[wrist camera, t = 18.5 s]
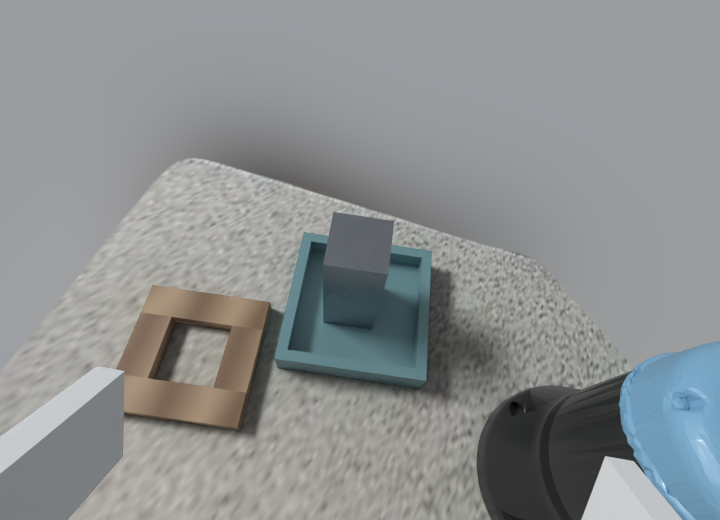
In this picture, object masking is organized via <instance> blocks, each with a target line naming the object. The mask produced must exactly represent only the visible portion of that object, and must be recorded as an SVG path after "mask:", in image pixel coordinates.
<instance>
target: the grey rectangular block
mask: <svg viewBox="0 0 720 520" xmlns="http://www.w3.org/2000/svg"><path fill="white" fill-rule="evenodd" d="M393 225H394V221H389V220H382V219H376V218H369V217H362V216H356V215H349V214H343V213H336V212H334V213H333V218H332V222H331V227H330V232H329V237H328V242H327V247H326V252H325V257H324V262H323V322H324V323H330V324H337V325H344V326H350V327H357V328H364V329H370V330H372V328H373V325H374V321H375V318H376V315H377V311H378V308H379V304H380V301H381V298H382V294H383V291H384V287H385V284H386V281H387V277H388V272H389V263H390V254H391V244H392V235H393Z"/></svg>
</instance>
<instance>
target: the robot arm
mask: <svg viewBox="0 0 720 520" xmlns="http://www.w3.org/2000/svg"><path fill="white" fill-rule="evenodd" d="M124 375H125V371H121V370H115V369H110V368H104V367H98V366H97V367H95V368H94V369H92V370H91V371H90V372H88V373H87V374H86V375H84V376H83V377H81V378H80V379H79V380H77V381H76V382H75V383H73V384H72V385H71V386H69V387H68V388H66V389H65V390H64V391H62V392H61V393H60V394H58V395H57V396H55V397H54V398H53V399H51V400H50V401H49V402H47V403H46V404H44V405H43V406H42V407H40V408H39V409H38V410H36V411H35V412H33V413H32V414H31V415H29V416H28V417H27V418H25V419H24V420H23V421H21V422H20V423H18V424H17V425H16V426H14V427H13V428H12V429H10V430H9V431H7V432H6V433H5V434H3V435H2V436H1V437H0V520H68V519H69V517H70V516H71V515H72V514H73V513H74V512H75V511H76V509H77V508H78V507H79V506H80V505H81V504H82V502H83V501H84V500H85V499H86V498H87V497H88V496H89V494H90V493H91V492H92V491H93V490H94V489H95V488H96V486H97V485H98V484H99V483H100V482H101V481H102V480H103V478H104V477H105V476H106V475H107V474H108V473H109V471H110V470H111V469H112V468H113V467H114V466H115V465H116V463H117V462H118V461H119V460H120V459H121V458H122V457H123V428H124ZM477 473H478V481H479V486H480V490H481V494H482V497H483V500H484V503H485V506H486V508H487V511H488V513H489V515H490V517H491V519H492V520H720V341H719V342H713V343H708V344H704V345H700V346H697V347H694V348H691V349H688V350H684V351H681V352H675V353H674V352H672V353H665V354H662V355H658V356H655V357H652V358H650V359H648V360H646V361H644V362H642V363H641V364H639V365H637V366H636V367H635V369H634V370H633V371H630V372H628V373H625V374H622V375H620V376H617V377H614V378H612V379H609V380H606V381H604V382H601V383H598V384H596V385H593V386H590V387H588V388H585V389H583V390H580V389H574V388H568V387H562V386H540V387H534V388H530V389H527V390H524V391H522V392H520V393H518V394H516V395H514V396H512V397H510V398H508V399H507V400H505V401H504V402H503V403H501V404H500V405H499V406H498V407H497V408H496V409H495V410H494V411H493V413H492V414H491V415H490V417H489V418H488V420H487V422H486V424H485V426H484V428H483V430H482V433H481V436H480V440H479V444H478V451H477Z"/></svg>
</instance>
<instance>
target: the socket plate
mask: <svg viewBox="0 0 720 520" xmlns="http://www.w3.org/2000/svg"><path fill="white" fill-rule="evenodd" d="M270 312H271V305H270V302H265V301H258V300H251V299H244V298H237V297H231V296H224V295H217V294H210V293H203V292H196V291H190V290H183V289H176V288H169V287H162V286H156V285H153V286H152V288H151V290H150V293H149V295H148V297H147V300H146V302H145V304H144V307H143V309H142V311H141V313H140V316H139V318H138V320H137V323H136V325H135V327H134V330H133V332H132V334H131V337H130V339H129V341H128V344H127V346H126V348H125V351H124V353H123V355H122V358H121V360H120V362H119V365H118V367H117V369H116V370H121V371H125V375H124V413H125V414H132V415H139V416H145V417H152V418H159V419H166V420H173V421H180V422H187V423H194V424H201V425H207V426H214V427H221V428H228V429H235V430H240V429H241V425H242V422H243V418H244V414H245V410H246V406H247V402H248V398H249V394H250V390H251V386H252V382H253V378H254V375H255V371H256V367H257V363H258V359H259V355H260V351H261V347H262V343H263V339H264V335H265V332H266V328H267V324H268V320H269V316H270ZM176 322H177V323H184V324H191V325H198V326H205V327H212V328H218V329H225V330H231V331H230V335H229V338H228V341H227V345H226V348H225V351H224V355H223V358H222V361H221V365H220V368H219V371H218V374H217V378H216V381H215V384H214V388H211V387H204V386H197V385H191V384H184V383H177V382H170V381H163V380H156V379H155V377H156V375H157V372H158V369H159V367H160V364H161V361H162V359H163V356H164V354H165V351H166V348H167V346H168V343H169V340H170V338H171V335H172V332H173V330H174V327H175V324H176Z"/></svg>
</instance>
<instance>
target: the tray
mask: <svg viewBox="0 0 720 520" xmlns="http://www.w3.org/2000/svg"><path fill="white" fill-rule="evenodd" d="M328 237H329V236H326V235H319V234H312V233H305V232H304V234H303V238H302V243H301V247H300V251H299V255H298V260H297V264H296V268H295V272H294V277H293V281H292V285H291V289H290V293H289V298H288V302H287V306H286V310H285V315H284V319H283V323H282V327H281V332H280V336H279V340H278V344H277V349H276V353H275V357H274V360H275V362H276V365H277V367H278V368H285V369H292V370H298V371H305V372H312V373H319V374H326V375H333V376H340V377H346V378H353V379H360V380H367V381H374V382H381V383H388V384H394V385H401V386H408V387H415V388H420V387H421V386H422V385H423V384H424V383H425V382H426V377H427V352H428V328H429V303H430V279H431V254H432V251H428V250H421V249H414V248H407V247H400V246H394V245H391V254H390V263H389V272H388V277H387V281H386V284H385V287H384V291H383V294H382V298H381V301H380V304H379V308H378V311H377V315H376V318H375V321H374V325H373V328H372V330H370V329H364V328H357V327H350V326H344V325H337V324H330V323H324V322H323V262H324V257H325V252H326V247H327V242H328Z"/></svg>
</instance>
